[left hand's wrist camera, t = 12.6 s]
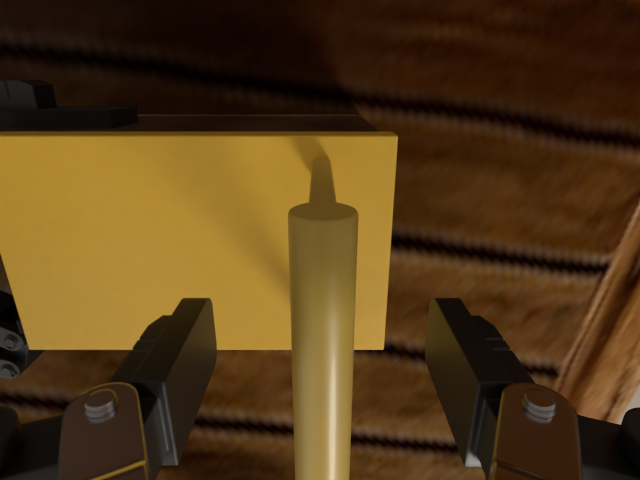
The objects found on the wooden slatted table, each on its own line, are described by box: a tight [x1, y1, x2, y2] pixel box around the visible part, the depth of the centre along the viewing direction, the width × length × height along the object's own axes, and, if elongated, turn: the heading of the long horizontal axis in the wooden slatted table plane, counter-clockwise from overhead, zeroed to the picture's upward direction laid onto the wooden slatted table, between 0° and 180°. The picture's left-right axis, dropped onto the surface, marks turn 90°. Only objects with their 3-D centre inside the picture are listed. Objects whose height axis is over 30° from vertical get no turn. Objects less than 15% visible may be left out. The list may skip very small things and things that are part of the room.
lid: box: [0, 132, 398, 480], centre depth 14 cm, size 16×9×9 cm, turn 90°
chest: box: [0, 114, 379, 132], centre depth 22 cm, size 15×9×9 cm, turn 90°
